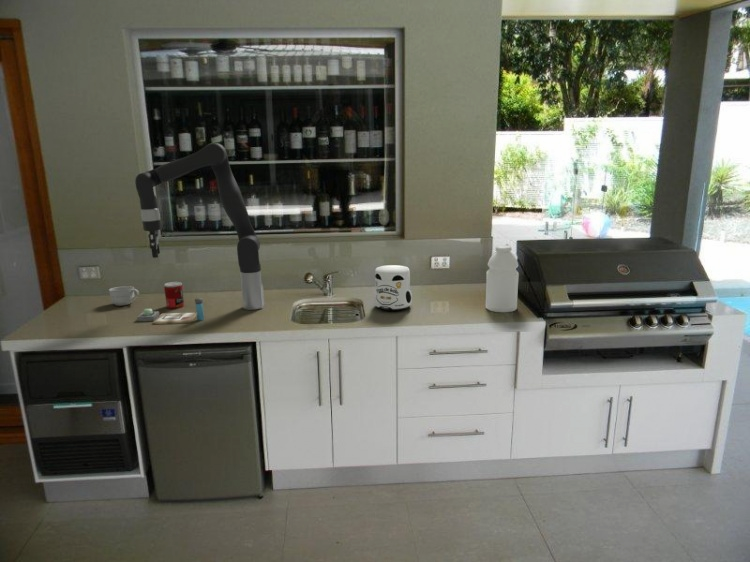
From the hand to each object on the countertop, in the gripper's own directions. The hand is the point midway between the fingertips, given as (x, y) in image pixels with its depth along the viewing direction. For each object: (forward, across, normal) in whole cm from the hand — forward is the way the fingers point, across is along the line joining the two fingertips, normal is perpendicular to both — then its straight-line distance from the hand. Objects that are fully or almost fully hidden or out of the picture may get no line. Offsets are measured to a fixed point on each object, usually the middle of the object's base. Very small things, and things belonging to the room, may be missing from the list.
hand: (156, 255), depth 246 cm
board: (+26, -13, -6) cm, 30 cm away
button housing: (+26, -8, +6) cm, 28 cm away
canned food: (+26, +7, -4) cm, 28 cm away
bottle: (+29, -44, -145) cm, 155 cm away
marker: (+26, -17, -16) cm, 35 cm away
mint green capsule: (+26, -8, +6) cm, 28 cm away
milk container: (+28, -28, -100) cm, 107 cm away
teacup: (+26, +19, +19) cm, 37 cm away
